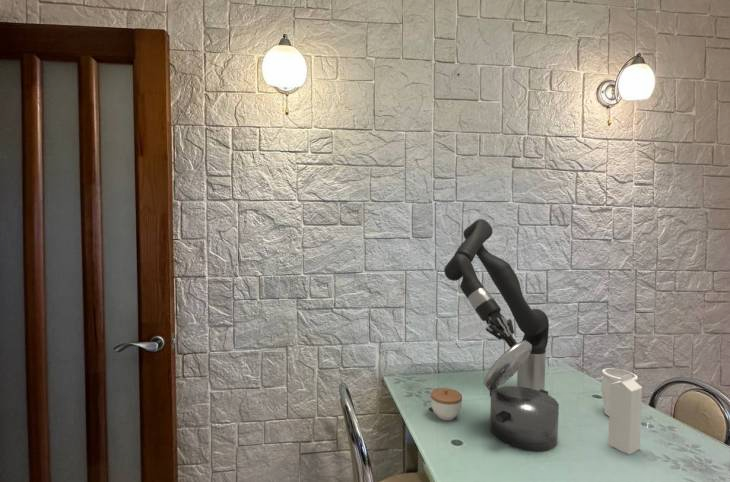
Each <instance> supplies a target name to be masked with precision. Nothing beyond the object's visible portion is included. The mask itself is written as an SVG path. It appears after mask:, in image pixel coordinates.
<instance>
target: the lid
mask: <svg viewBox="0 0 730 482" xmlns="http://www.w3.org/2000/svg"><path fill="white" fill-rule="evenodd" d="M531 350H532V345H531V344H530V343H529V342H528V341H526V340H523V341H522V340H521V341H518V342H517V343H516V344H515V345H513V346H512V347H511V348H510V347H509V348H508V349H507V350H505V351H504V353H503V354H501V356H500V357H498V359H497V360H496V361H495V362H494V363H493V364H492V365H491V367H490V368H489V370H488V372H486V375H485V377H484V380H483V385H484V386H485V388H486V389H488V391H490V390H493V389H496V388H499V387H502V386H503V385H504V384H505V383H506V382H507V381H508V380H510V379H511V378H512V377H513V376H514V375H515V374H516V373H517V372H518V369H519V368H520V367H521V366H522V365H523V363H524V362H525V361H526V359H527V358H528V356H529V354H530V352H531Z"/></svg>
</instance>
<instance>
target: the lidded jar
mask: <svg viewBox="0 0 730 482" xmlns="http://www.w3.org/2000/svg"><path fill="white" fill-rule="evenodd" d="M430 403H431V404H430V405H431V409H432V410H433V413H434V414H435V415H436V417H438V419H440V420H443V421H452V420H454V419H455V418H456V417H457V416H458V415H459V413H460V411H461V409H462V403H463V395H462V393H461V392H460V391H458V390H456V389H453V388H449V387H437V388H434V389H432V390H431V391H430Z"/></svg>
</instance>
